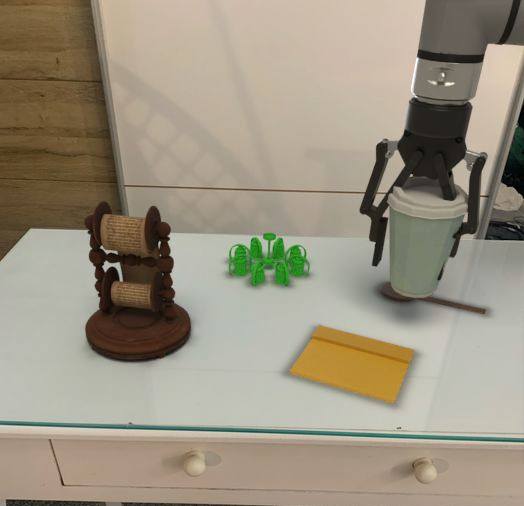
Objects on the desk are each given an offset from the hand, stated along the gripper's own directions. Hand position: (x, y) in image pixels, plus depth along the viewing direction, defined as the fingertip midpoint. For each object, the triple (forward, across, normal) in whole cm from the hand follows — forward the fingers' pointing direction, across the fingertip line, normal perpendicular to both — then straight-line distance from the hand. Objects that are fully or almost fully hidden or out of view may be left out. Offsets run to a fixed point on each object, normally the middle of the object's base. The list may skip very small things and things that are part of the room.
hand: (407, 269), depth 80 cm
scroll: (+10, -33, -20) cm, 40 cm away
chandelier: (+10, -25, +8) cm, 28 cm away
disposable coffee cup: (+3, +1, 0) cm, 3 cm away
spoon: (+10, +3, +10) cm, 14 cm away
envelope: (+10, -3, -13) cm, 17 cm away
